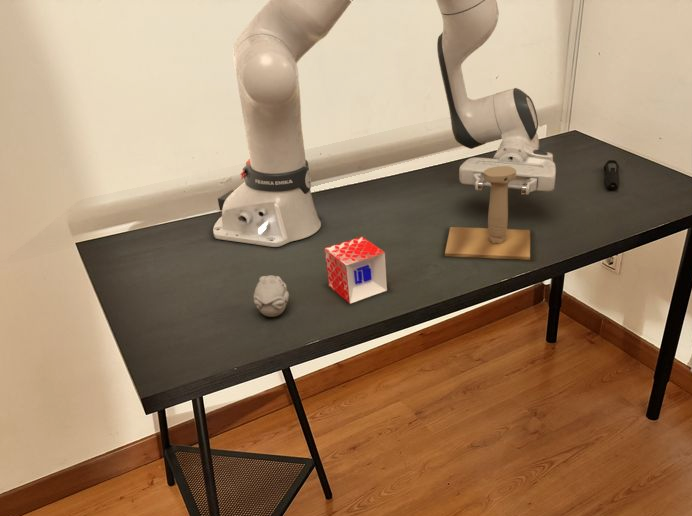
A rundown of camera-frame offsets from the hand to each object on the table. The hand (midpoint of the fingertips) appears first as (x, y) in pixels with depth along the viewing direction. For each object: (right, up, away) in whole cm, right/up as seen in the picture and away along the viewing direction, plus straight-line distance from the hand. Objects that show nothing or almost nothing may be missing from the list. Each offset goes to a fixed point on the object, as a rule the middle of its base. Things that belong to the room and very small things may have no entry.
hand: (501, 189), depth 145 cm
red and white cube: (-28, -21, -11) cm, 37 cm away
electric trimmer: (+29, +9, +31) cm, 44 cm away
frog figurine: (-41, -26, -18) cm, 52 cm away
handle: (-1, -10, +3) cm, 11 cm away
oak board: (-2, -11, +3) cm, 11 cm away
